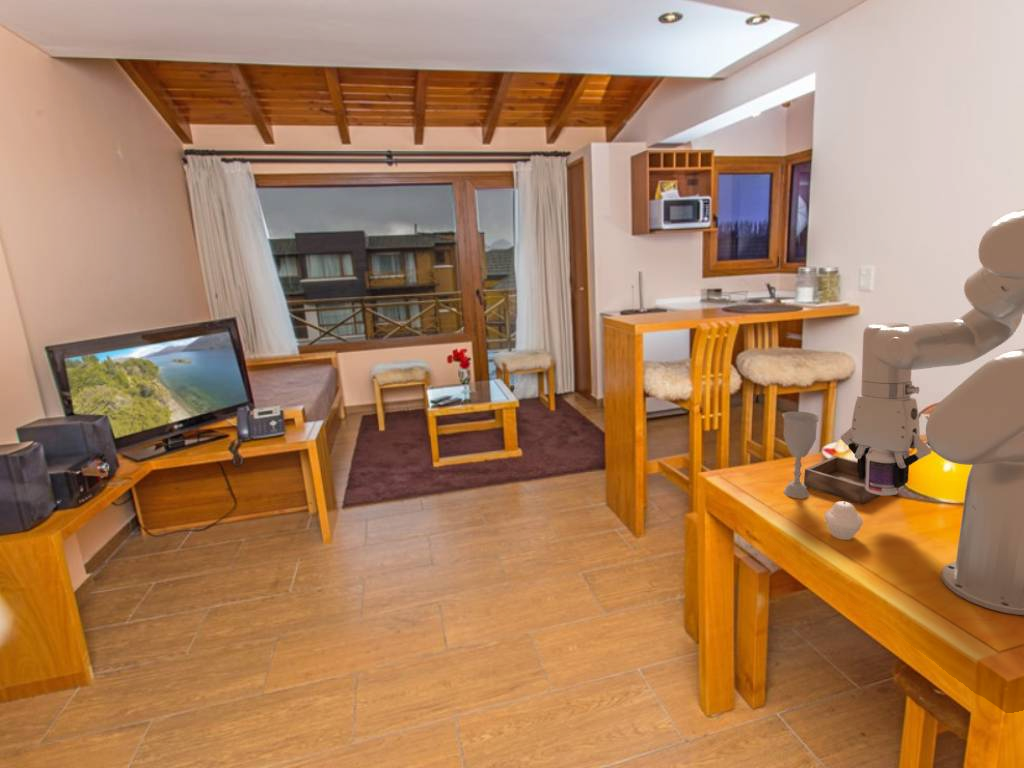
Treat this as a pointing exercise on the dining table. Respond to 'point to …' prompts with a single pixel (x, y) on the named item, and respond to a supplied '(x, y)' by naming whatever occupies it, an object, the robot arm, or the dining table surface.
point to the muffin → (843, 520)
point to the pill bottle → (880, 472)
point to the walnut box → (838, 480)
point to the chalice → (799, 445)
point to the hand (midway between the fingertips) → (881, 480)
